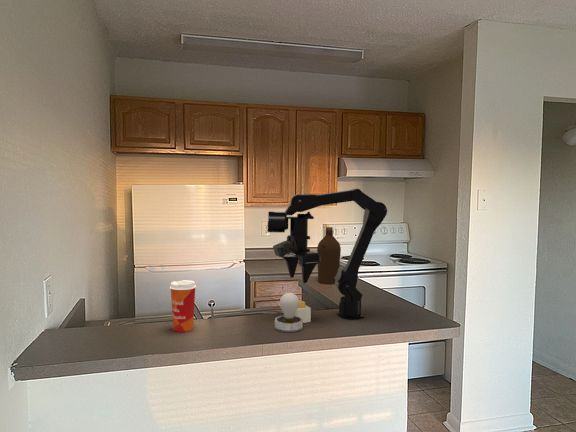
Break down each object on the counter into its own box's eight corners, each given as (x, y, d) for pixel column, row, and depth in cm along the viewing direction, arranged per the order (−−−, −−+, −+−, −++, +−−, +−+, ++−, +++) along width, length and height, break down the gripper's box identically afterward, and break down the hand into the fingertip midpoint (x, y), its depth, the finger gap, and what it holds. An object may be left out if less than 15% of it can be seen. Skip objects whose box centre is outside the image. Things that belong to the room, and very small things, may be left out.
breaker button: (301, 310, 136) (301, 300, 136) (305, 312, 134) (305, 302, 134) (294, 311, 135) (295, 301, 135) (298, 313, 133) (298, 303, 133)
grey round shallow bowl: (294, 322, 133) (294, 314, 133) (307, 330, 126) (307, 321, 126) (270, 325, 130) (270, 317, 129) (282, 334, 122) (282, 325, 122)
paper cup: (165, 328, 126) (165, 281, 125) (189, 323, 131) (188, 278, 130) (177, 335, 120) (176, 286, 119) (201, 330, 125) (201, 283, 124)
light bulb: (300, 323, 130) (301, 291, 129) (296, 329, 124) (296, 296, 124) (282, 321, 131) (283, 290, 131) (276, 327, 126) (277, 294, 125)
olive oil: (340, 285, 187) (341, 228, 186) (316, 284, 188) (317, 228, 186) (339, 280, 198) (340, 226, 196) (316, 279, 198) (317, 226, 197)
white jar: (303, 317, 138) (303, 303, 138) (310, 321, 134) (310, 306, 134) (289, 319, 136) (289, 304, 136) (296, 323, 132) (296, 308, 131)
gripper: (264, 230, 143) (264, 276, 144) (289, 236, 126) (288, 288, 127) (294, 229, 148) (293, 274, 149) (321, 235, 131) (320, 285, 132)
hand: (298, 280), depth 139 cm, fingers open, 9 cm apart
